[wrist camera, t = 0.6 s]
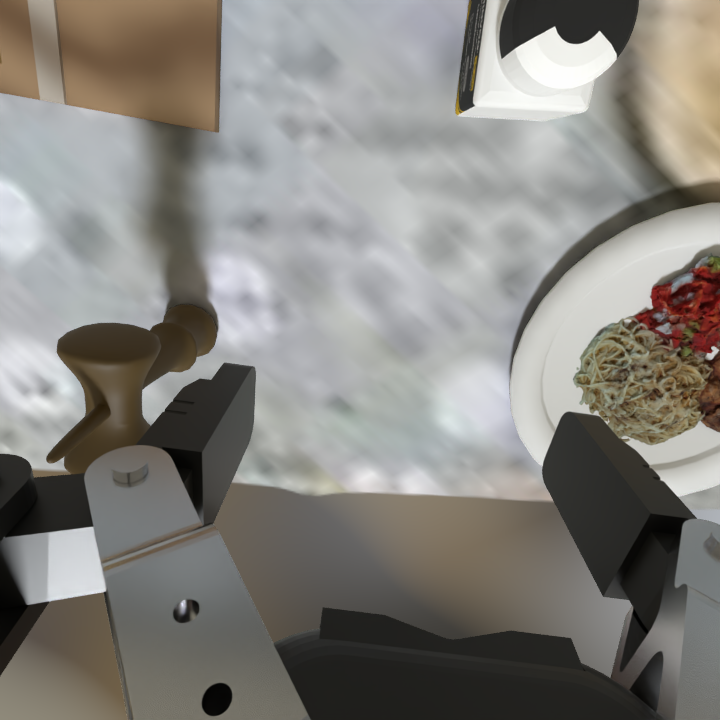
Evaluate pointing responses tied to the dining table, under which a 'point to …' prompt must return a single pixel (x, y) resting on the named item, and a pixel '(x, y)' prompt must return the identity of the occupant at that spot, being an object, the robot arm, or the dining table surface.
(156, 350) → the kendama
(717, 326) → the plated food
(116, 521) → the robot arm
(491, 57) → the medicine bottle
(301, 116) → the dining table surface
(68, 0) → the post base
